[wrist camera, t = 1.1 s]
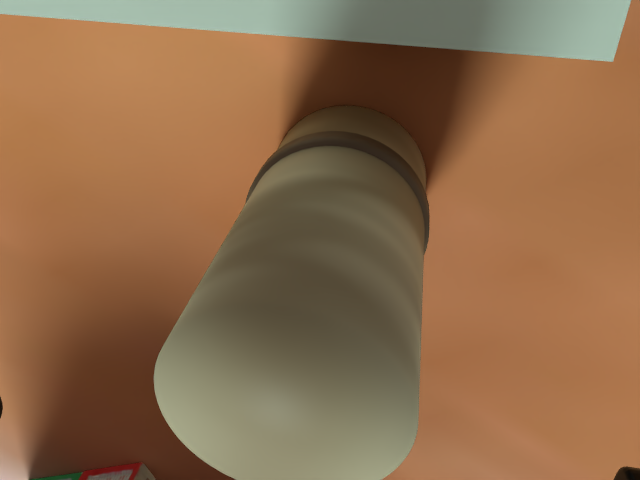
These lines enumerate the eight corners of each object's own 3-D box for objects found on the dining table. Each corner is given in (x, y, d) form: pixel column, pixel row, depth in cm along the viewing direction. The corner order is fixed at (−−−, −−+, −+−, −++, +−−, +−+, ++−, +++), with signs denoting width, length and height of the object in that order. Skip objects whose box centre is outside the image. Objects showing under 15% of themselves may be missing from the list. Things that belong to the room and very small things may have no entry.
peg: (441, 109, 14) (445, 319, 7) (419, 255, 16) (407, 519, 10) (270, 94, 15) (130, 277, 8) (271, 237, 17) (162, 476, 10)
